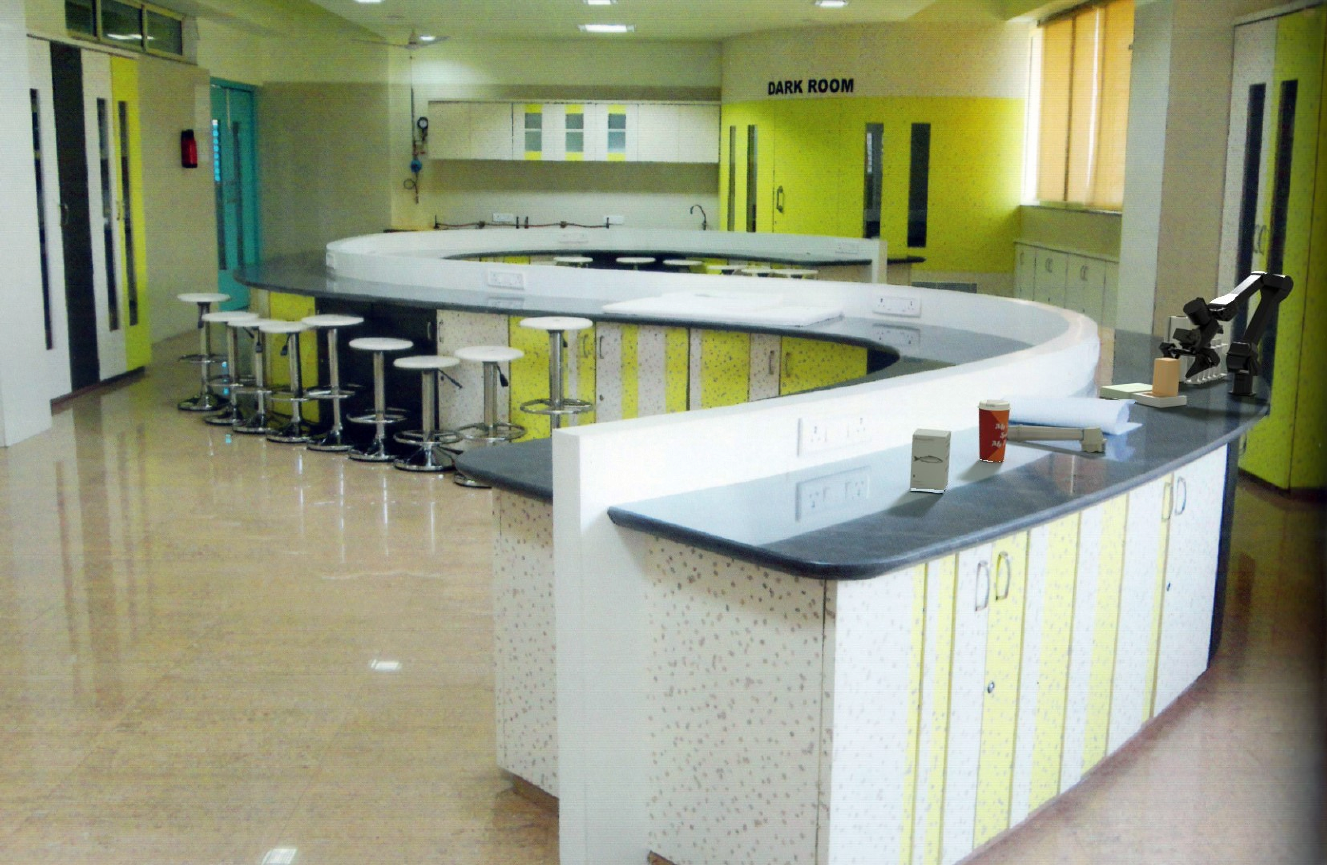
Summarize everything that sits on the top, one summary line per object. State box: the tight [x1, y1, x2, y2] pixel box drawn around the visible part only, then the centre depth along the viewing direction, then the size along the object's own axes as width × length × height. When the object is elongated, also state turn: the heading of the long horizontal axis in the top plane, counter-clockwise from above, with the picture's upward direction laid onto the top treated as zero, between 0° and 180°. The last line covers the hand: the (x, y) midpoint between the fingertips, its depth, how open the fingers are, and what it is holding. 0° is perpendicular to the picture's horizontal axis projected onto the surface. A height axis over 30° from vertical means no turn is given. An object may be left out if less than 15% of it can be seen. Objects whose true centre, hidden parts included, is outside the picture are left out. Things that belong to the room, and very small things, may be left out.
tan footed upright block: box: [1147, 357, 1180, 398], centre depth 353 cm, size 7×5×13 cm
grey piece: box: [1006, 423, 1108, 453], centre depth 296 cm, size 5×7×25 cm
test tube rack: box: [1183, 337, 1230, 385], centre depth 394 cm, size 25×4×13 cm, turn 135°
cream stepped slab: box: [1099, 382, 1188, 409], centre depth 359 cm, size 16×22×3 cm
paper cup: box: [977, 399, 1012, 463], centre depth 280 cm, size 8×8×14 cm
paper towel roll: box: [1163, 315, 1192, 383], centre depth 392 cm, size 7×6×21 cm
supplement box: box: [909, 428, 952, 490], centre depth 254 cm, size 7×7×13 cm
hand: (1173, 375), depth 354 cm, fingers open, 9 cm apart
